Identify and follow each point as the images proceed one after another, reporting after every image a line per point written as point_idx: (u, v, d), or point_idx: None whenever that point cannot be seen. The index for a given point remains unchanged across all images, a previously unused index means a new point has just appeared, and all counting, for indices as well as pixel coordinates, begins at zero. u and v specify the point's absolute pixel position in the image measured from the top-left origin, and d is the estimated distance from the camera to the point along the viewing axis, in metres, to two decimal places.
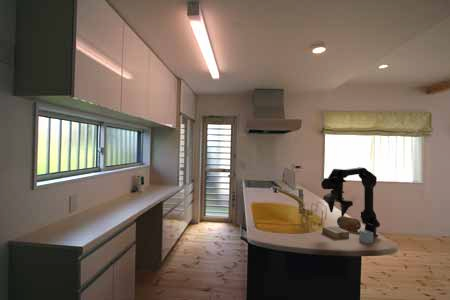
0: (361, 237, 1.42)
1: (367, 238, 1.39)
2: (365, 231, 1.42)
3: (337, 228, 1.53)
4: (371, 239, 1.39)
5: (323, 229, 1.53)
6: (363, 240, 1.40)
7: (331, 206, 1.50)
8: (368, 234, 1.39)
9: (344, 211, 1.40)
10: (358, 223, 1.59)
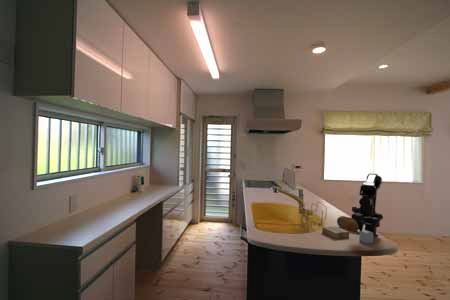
0: (361, 237, 1.42)
1: (367, 238, 1.39)
2: (365, 231, 1.42)
3: (337, 228, 1.53)
4: (371, 239, 1.39)
5: (323, 229, 1.53)
6: (363, 240, 1.40)
7: (372, 224, 1.43)
8: (368, 234, 1.39)
9: (359, 226, 1.40)
10: None
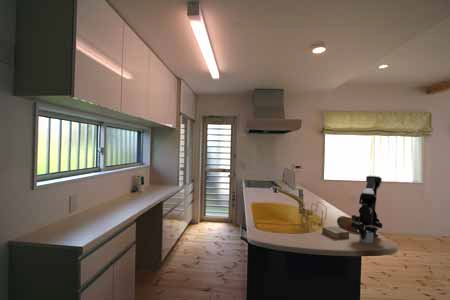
0: None
1: (367, 238, 1.39)
2: None
3: (337, 228, 1.53)
4: (371, 239, 1.39)
5: (323, 229, 1.53)
6: (363, 240, 1.40)
7: None
8: (368, 233, 1.39)
9: (362, 234, 1.40)
10: None
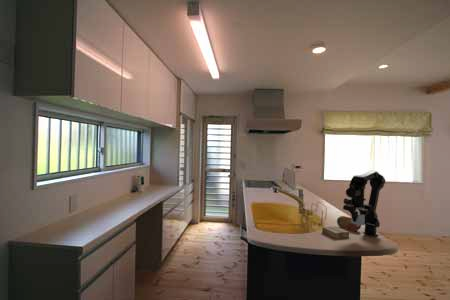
0: None
1: (359, 220, 1.41)
2: None
3: (337, 228, 1.53)
4: (362, 221, 1.42)
5: (323, 229, 1.53)
6: (355, 222, 1.43)
7: None
8: (360, 216, 1.41)
9: (353, 216, 1.42)
10: None
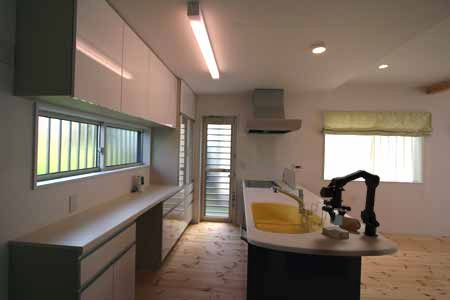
0: None
1: (336, 220, 1.48)
2: (335, 214, 1.51)
3: (337, 228, 1.53)
4: (340, 221, 1.48)
5: (323, 229, 1.53)
6: (333, 222, 1.49)
7: None
8: (337, 216, 1.48)
9: (331, 217, 1.49)
10: (358, 223, 1.59)
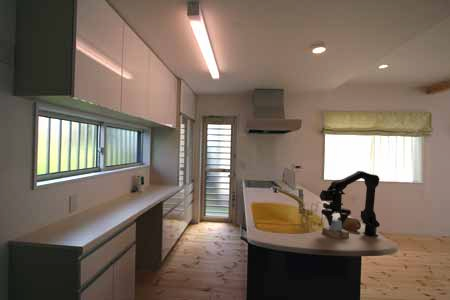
0: (331, 226, 1.51)
1: (336, 226, 1.47)
2: (334, 220, 1.51)
3: None
4: (340, 227, 1.48)
5: (323, 229, 1.53)
6: (332, 228, 1.49)
7: (341, 219, 1.52)
8: (337, 222, 1.48)
9: (329, 221, 1.49)
10: (358, 223, 1.59)
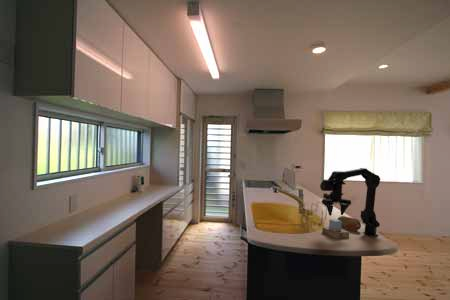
0: (330, 225, 1.51)
1: (335, 226, 1.48)
2: (334, 220, 1.51)
3: None
4: (339, 227, 1.49)
5: (323, 229, 1.53)
6: (332, 228, 1.50)
7: (342, 209, 1.52)
8: (336, 222, 1.48)
9: (329, 210, 1.49)
10: (358, 223, 1.59)
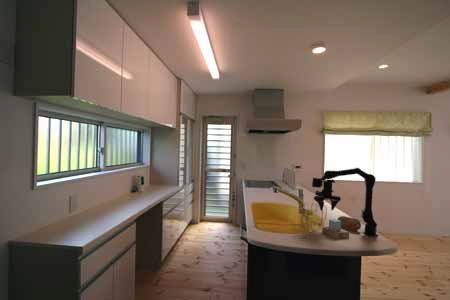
0: (330, 226, 1.51)
1: (336, 226, 1.48)
2: (334, 220, 1.51)
3: None
4: (339, 227, 1.49)
5: (323, 229, 1.53)
6: (332, 228, 1.49)
7: (332, 205, 1.67)
8: (337, 222, 1.48)
9: (320, 206, 1.63)
10: (358, 223, 1.59)
